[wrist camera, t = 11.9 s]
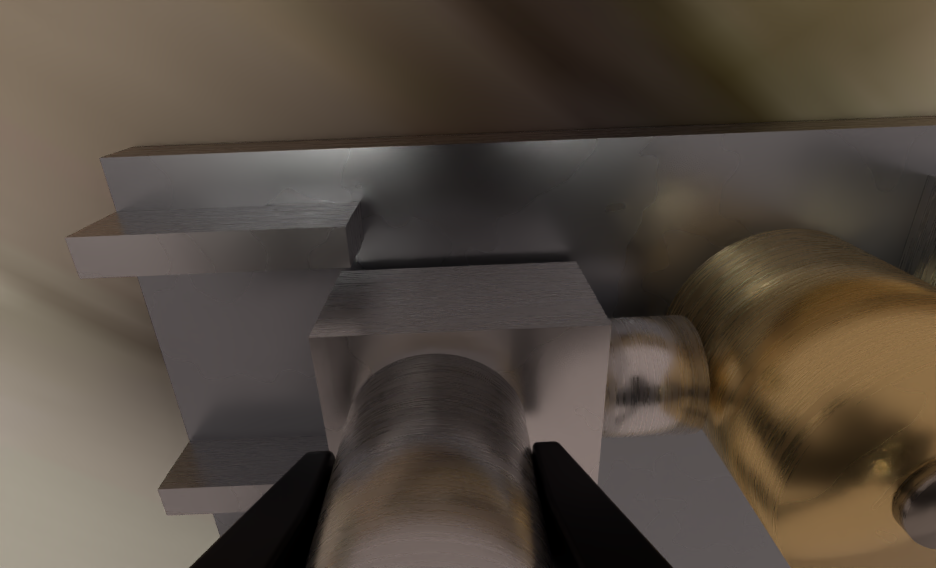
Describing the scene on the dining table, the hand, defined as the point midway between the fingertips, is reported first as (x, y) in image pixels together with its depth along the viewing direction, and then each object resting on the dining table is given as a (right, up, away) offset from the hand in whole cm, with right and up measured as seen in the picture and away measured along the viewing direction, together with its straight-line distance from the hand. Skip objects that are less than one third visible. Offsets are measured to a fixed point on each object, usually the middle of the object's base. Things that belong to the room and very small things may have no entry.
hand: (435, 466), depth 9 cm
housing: (+8, +2, +4) cm, 9 cm away
